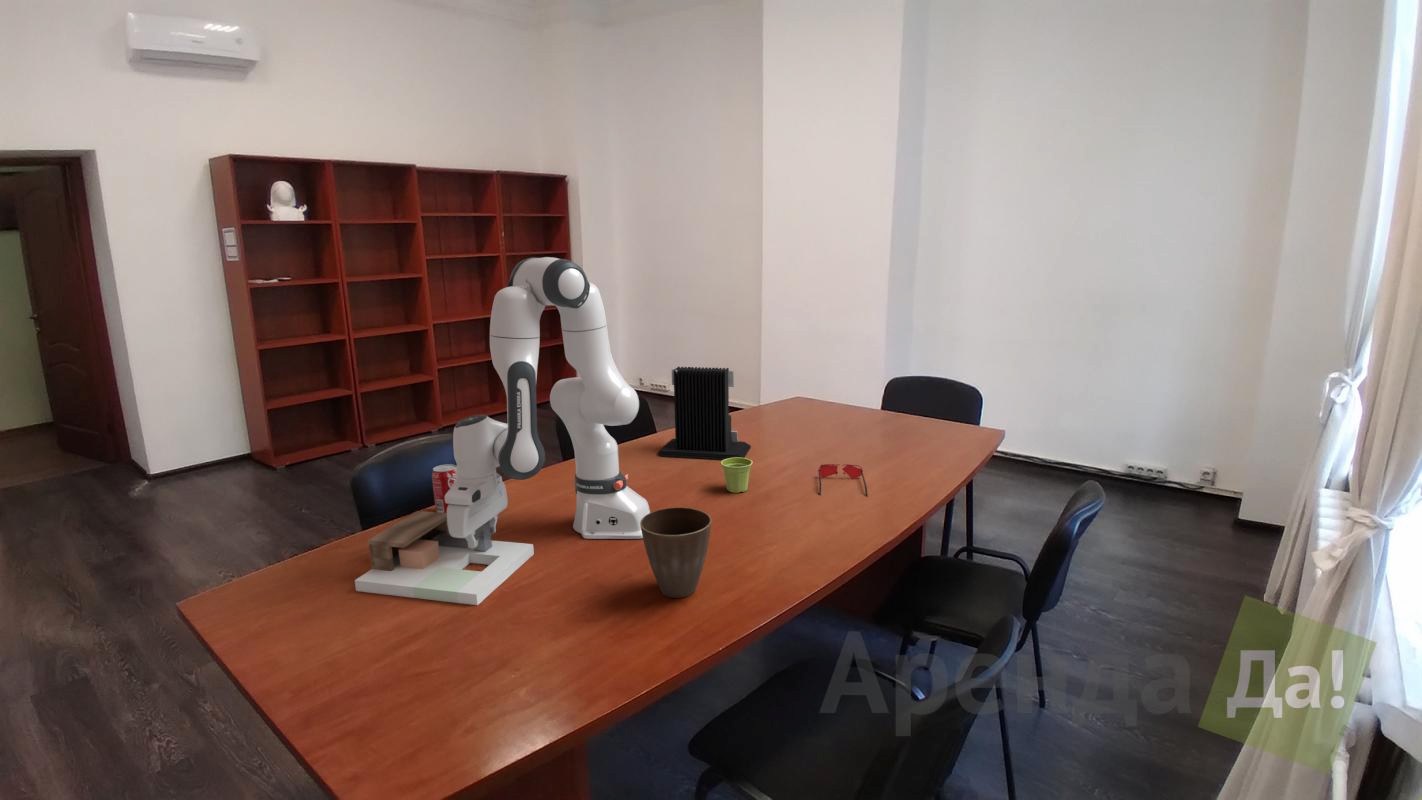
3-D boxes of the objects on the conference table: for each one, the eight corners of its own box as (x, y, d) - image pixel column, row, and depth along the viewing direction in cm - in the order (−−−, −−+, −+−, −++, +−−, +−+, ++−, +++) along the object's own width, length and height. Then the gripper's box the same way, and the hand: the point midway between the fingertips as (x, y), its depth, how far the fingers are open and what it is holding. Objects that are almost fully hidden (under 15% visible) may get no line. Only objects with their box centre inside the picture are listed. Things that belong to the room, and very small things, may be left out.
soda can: (454, 517, 196) (449, 472, 193) (430, 515, 198) (425, 471, 195) (468, 508, 203) (463, 464, 200) (445, 506, 204) (440, 462, 201)
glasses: (862, 478, 223) (863, 463, 222) (867, 498, 207) (868, 481, 206) (817, 477, 224) (817, 462, 223) (819, 496, 208) (819, 480, 207)
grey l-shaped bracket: (492, 546, 171) (488, 514, 170) (476, 558, 165) (472, 526, 163) (438, 542, 175) (434, 511, 173) (421, 554, 169) (417, 522, 167)
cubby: (452, 540, 175) (449, 513, 174) (406, 572, 159) (403, 543, 157) (420, 537, 177) (417, 510, 176) (371, 569, 161) (368, 540, 159)
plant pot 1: (687, 614, 144) (685, 540, 141) (628, 596, 152) (625, 525, 148) (725, 584, 157) (724, 515, 153) (669, 568, 164) (667, 502, 161)
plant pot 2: (716, 493, 211) (716, 465, 210) (727, 482, 220) (727, 455, 218) (746, 497, 208) (746, 468, 206) (756, 486, 216) (756, 458, 215)
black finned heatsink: (752, 446, 258) (751, 363, 251) (742, 462, 240) (741, 374, 233) (670, 441, 265) (668, 361, 258) (655, 457, 247) (652, 371, 240)
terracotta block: (439, 557, 166) (438, 541, 165) (423, 568, 161) (421, 552, 160) (417, 555, 168) (415, 539, 167) (400, 566, 162) (398, 550, 161)
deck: (533, 553, 173) (533, 544, 172) (477, 605, 149) (476, 594, 149) (426, 543, 180) (425, 534, 179) (356, 590, 156) (354, 580, 156)
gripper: (488, 469, 177) (493, 522, 180) (439, 499, 158) (445, 557, 161) (511, 471, 176) (516, 524, 179) (465, 501, 156) (470, 559, 159)
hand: (482, 540), depth 170 cm, fingers open, 6 cm apart
